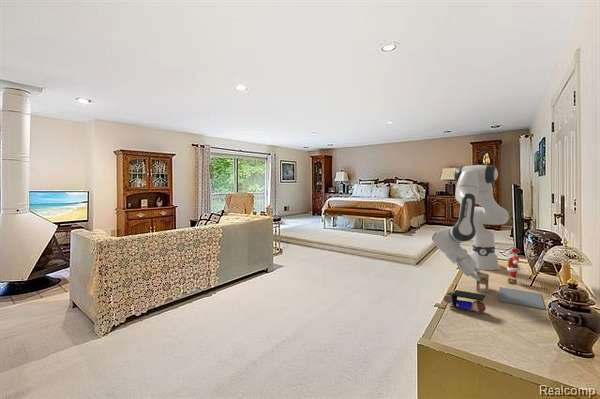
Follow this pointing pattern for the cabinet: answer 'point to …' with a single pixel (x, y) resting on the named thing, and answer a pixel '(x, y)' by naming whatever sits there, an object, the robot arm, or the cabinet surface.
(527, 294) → the mat
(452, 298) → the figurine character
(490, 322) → the cabinet surface
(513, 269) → the santa figurine
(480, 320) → the cabinet surface
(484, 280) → the stool
